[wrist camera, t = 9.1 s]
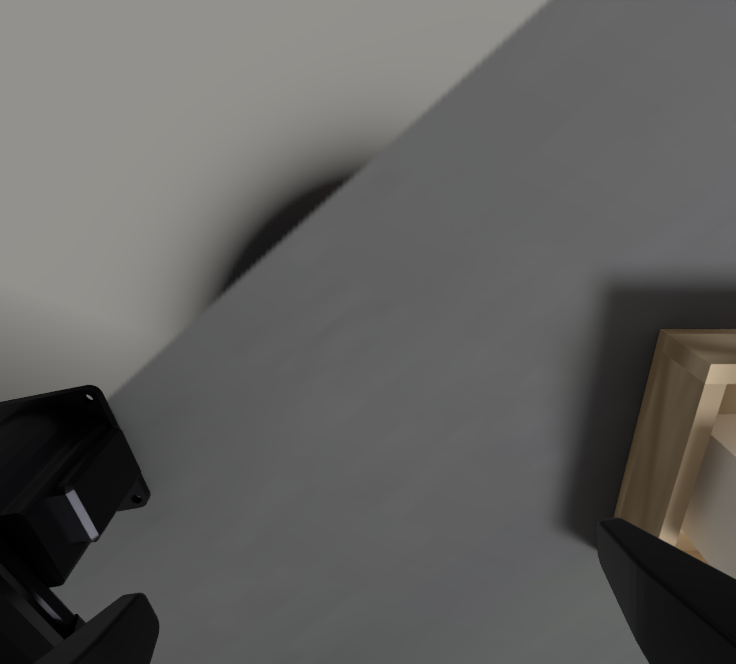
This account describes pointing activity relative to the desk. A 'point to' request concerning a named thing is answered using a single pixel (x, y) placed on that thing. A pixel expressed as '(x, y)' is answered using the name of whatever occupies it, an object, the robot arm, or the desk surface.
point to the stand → (716, 499)
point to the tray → (677, 429)
